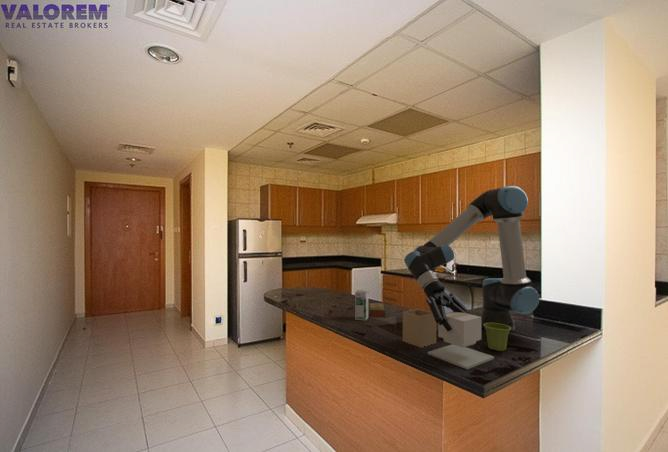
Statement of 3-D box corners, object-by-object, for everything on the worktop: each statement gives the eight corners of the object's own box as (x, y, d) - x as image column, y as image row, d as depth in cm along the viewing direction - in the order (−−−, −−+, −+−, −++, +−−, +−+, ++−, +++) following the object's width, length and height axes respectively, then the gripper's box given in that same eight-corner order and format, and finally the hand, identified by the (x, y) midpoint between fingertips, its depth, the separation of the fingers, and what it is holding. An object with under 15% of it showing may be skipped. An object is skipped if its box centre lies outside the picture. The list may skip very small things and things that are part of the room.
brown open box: (418, 337, 138) (418, 308, 138) (436, 343, 130) (436, 313, 130) (402, 341, 132) (402, 311, 133) (420, 347, 125) (420, 316, 125)
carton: (382, 310, 186) (383, 303, 186) (385, 318, 170) (385, 309, 170) (368, 310, 186) (368, 302, 187) (369, 317, 170) (369, 309, 171)
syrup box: (354, 319, 164) (354, 291, 164) (358, 317, 170) (358, 289, 170) (365, 321, 162) (365, 292, 162) (368, 318, 168) (368, 290, 168)
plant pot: (502, 344, 129) (502, 322, 129) (516, 353, 120) (516, 329, 120) (479, 344, 129) (479, 322, 129) (491, 353, 120) (491, 329, 120)
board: (454, 345, 127) (454, 343, 127) (494, 358, 114) (494, 356, 114) (427, 354, 118) (427, 351, 118) (467, 369, 105) (467, 367, 105)
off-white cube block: (455, 335, 124) (455, 310, 124) (481, 343, 115) (481, 316, 115) (438, 340, 118) (438, 314, 118) (463, 349, 109) (463, 320, 109)
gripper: (443, 288, 136) (478, 335, 123) (405, 293, 123) (439, 347, 110) (454, 277, 132) (492, 325, 118) (416, 281, 119) (453, 335, 105)
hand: (467, 335), depth 114 cm, fingers closed on off-white cube block, 10 cm apart
